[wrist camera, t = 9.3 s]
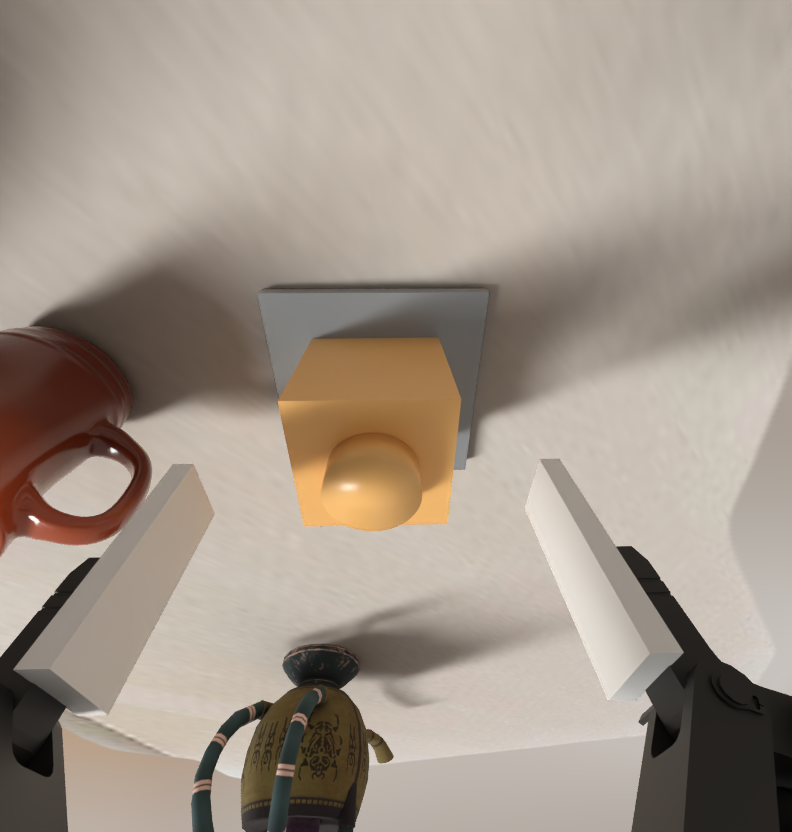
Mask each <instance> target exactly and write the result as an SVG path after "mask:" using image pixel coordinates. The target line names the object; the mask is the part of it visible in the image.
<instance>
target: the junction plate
mask: <svg viewBox="0 0 792 832" xmlns="http://www.w3.org/2000/svg"><path fill="white" fill-rule="evenodd" d="M257 296H258V301H259V306H260V311H261V316H262V321H263V325H264V330H265V335H266V340H267V345H268V350H269V355H270V359H271V364H272V369H273V374H274V379H275V384H276V389H277V393H278V398H280V396H281V394H282V392H283V391H284V389H285V387H286V385H287V383H288V381H289V380H290V378H291V376H292V374H293V372H294V371H295V369H296V367H297V365H298V363H299V361H300V360H301V358H302V356H303V354H304V352H305V351H306V349H307V347H308V345H309V343H310V341H311V340H312V339H335V338H439V340H440V343H441V345H442V348H443V351H444V354H445V356H446V359H447V362H448V364H449V367H450V370H451V372H452V375H453V378H454V381H455V383H456V386H457V389H458V391H459V394H460V397H461V407H460V416H459V425H458V434H457V442H456V451H455V460H454V469H453V470H463V469H465V466H466V459H467V452H468V445H469V437H470V430H471V423H472V416H473V408H474V401H475V394H476V387H477V379H478V372H479V365H480V358H481V350H482V343H483V336H484V328H485V321H486V314H487V307H488V299H489V291H487V290H486V289H485V288H420V289H263V290H261V291H260V292H258V293H257Z"/></svg>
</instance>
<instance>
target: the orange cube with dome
mask: <svg viewBox="0 0 792 832" xmlns="http://www.w3.org/2000/svg"><path fill="white" fill-rule="evenodd" d="M278 405H279V410H280V415H281V419H282V424H283V429H284V434H285V438H286V443H287V448H288V453H289V457H290V462H291V467H292V472H293V476H294V481H295V486H296V491H297V495H298V500H299V505H300V510H301V514H302V519H303V524H304V526H348V527H351V528H354V529H358V530H364V531H381V530H387V529H391V528H394V527H397V526H399V525H413V524H447V523H448V514H449V505H450V496H451V487H452V478H453V469H454V460H455V451H456V442H457V434H458V425H459V416H460V407H461V397H460V394H459V391H458V389H457V386H456V383H455V381H454V378H453V375H452V372H451V370H450V367H449V364H448V362H447V359H446V356H445V354H444V351H443V348H442V345H441V343H440V340H439V338H335V339H312V340H311V341H310V343H309V345H308V347H307V349H306V351H305V352H304V354H303V356H302V358H301V360H300V361H299V363H298V365H297V367H296V369H295V371H294V372H293V374H292V376H291V378H290V380H289V381H288V383H287V385H286V387H285V389H284V391H283V392H282V394H281V396H280V398H279V400H278Z"/></svg>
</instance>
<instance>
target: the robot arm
mask: <svg viewBox="0 0 792 832" xmlns="http://www.w3.org/2000/svg"><path fill="white" fill-rule="evenodd" d="M525 510H526V512H527V515H528V517H529V519H530V522H531V524H532V526H533V529H534V531H535V533H536V535H537V538H538V540H539V542H540V545H541V547H542V549H543V552H544V554H545V556H546V559H547V561H548V563H549V565H550V568H551V570H552V572H553V575H554V577H555V579H556V582H557V584H558V586H559V588H560V591H561V593H562V595H563V598H564V600H565V602H566V605H567V607H568V609H569V612H570V614H571V616H572V618H573V621H574V623H575V625H576V628H577V630H578V632H579V635H580V637H581V639H582V641H583V644H584V646H585V648H586V651H587V653H588V655H589V658H590V660H591V662H592V665H593V667H594V669H595V671H596V674H597V676H598V678H599V681H600V683H601V685H602V688H603V690H604V692H605V695H606V697H607V699H608V701H627V700H637V699H638V698H639V697H640V696H641V695H642V694H643V693H644V692H645V691H646V692H647V694H648V696H649V698H650V700H651V702H652V704H653V705H652V706H651V707H650V708H649V709H648V710H647V711H646V712H644V713H643V714H642V716H641V718H640V720H639V723H640V724H642V725H644V724H646V723H647V722H648V727H647V733H646V741H645V747H644V753H643V760H642V766H641V773H640V779H639V786H638V792H637V799H636V805H635V812H634V818H633V825H632V831H631V832H792V696H789V695H786V694H782V693H779V692H776V691H773V690H770V689H767V688H764V687H761V686H758V685H756V684H753V683H752V682H751V681H750V680H749V679H748V678H747V677H746V676H745V675H744V674H742V673H741V672H739V671H738V670H736V669H735V668H734V667H732V666H731V665H728V664H726V663H723V662H721V661H720V660H719V659H718V658H717V656H716V655H715V654H714V653H713V651H712V650H711V649H710V648H709V646H708V645H707V643H706V642H705V640H704V639H703V638H702V636H701V635H700V633H699V632H698V631H697V629H696V628H695V626H694V625H693V623H692V622H691V621H690V619H689V618H688V616H687V615H686V614H685V612H684V611H683V609H682V608H681V606H680V605H679V604H678V602H677V601H676V599H675V598H674V597H673V596H671V594H670V591H669V589H668V588H667V587H666V585H665V584H664V582H663V581H661V580H660V577H659V575H658V574H657V572H656V571H655V570H654V568H653V567H652V565H651V564H650V563H649V561H648V560H647V559H646V558H644V557H643V556H642V555H641V554H640V553H639V552H637V551H636V550H635V549H634V548H633V547H632V546H621V547H616V546H615V545H614V543H613V541H612V540H611V538H610V537H609V535H608V534H607V532H606V531H605V529H604V527H603V526H602V524H601V523H600V521H599V520H598V518H597V517H596V515H595V513H594V512H593V510H592V509H591V507H590V506H589V504H588V503H587V501H586V499H585V498H584V496H583V495H582V493H581V492H580V490H579V489H578V487H577V485H576V484H575V482H574V481H573V479H572V478H571V476H570V475H569V473H568V471H567V470H566V468H565V467H564V465H563V464H562V462H561V461H560V459H539V463H538V466H537V469H536V473H535V476H534V480H533V483H532V486H531V490H530V493H529V496H528V500H527V503H526V506H525ZM213 516H214V511H213V509H212V507H211V504H210V502H209V500H208V497H207V495H206V492H205V490H204V488H203V485H202V483H201V481H200V478H199V476H198V473H197V471H196V469H195V466H194V464H173V465H172V466H171V468H170V469H169V470H168V471H167V473H166V474H165V475H164V477H163V478H162V479H161V480H160V482H159V483H158V484H157V486H156V487H155V488H154V489H153V491H152V492H151V493H150V495H149V496H148V497H147V498H146V500H145V501H144V502H143V504H142V505H141V506H140V507H139V509H138V510H137V511H136V513H135V514H134V515H133V516H132V518H131V519H130V520H129V522H128V523H127V524H126V525H125V527H124V528H123V529H122V531H121V532H120V533H119V534H118V536H117V537H116V538H115V540H114V541H113V542H112V543H111V545H110V546H109V547H108V548H107V550H106V551H105V552H104V554H103V555H102V556H101V557H100V558H88V559H87V560H86V561H85V562H83V563H82V564H81V565H80V566H78V567H77V568H76V569H75V570H73V571H72V572H71V573H70V574H69V575H68V576H67V577H66V578H65V580H64V581H63V582H62V583H61V585H60V586H59V587H58V588H57V589H56V591H55V594H54V595H51V597H50V598H49V599H48V600H47V601H46V603H45V604H44V605H43V606H42V610H41V611H38V612H37V614H36V615H35V616H34V617H33V618H32V620H31V621H30V622H29V623H28V624H27V626H26V627H25V628H24V629H23V630H22V632H21V633H20V634H19V635H18V636H17V638H16V639H15V640H14V641H13V643H12V644H11V645H10V646H9V647H8V649H7V650H6V651H5V652H4V653H3V655H2V656H1V657H0V832H68V826H67V807H66V793H65V791H66V790H65V773H64V757H63V739H62V728H61V725H60V723H59V721H58V720H59V718H60V716H61V715H62V713H63V712H64V710H65V708H67V709H69V710H70V711H71V712H73V713H74V714H76V715H77V716H96V715H108V714H109V712H110V710H111V708H112V706H113V705H114V703H115V701H116V699H117V697H118V695H119V693H120V691H121V689H122V688H123V686H124V684H125V682H126V680H127V678H128V676H129V674H130V673H131V671H132V669H133V667H134V665H135V663H136V661H137V659H138V657H139V656H140V654H141V652H142V650H143V648H144V646H145V644H146V642H147V641H148V639H149V637H150V635H151V633H152V631H153V629H154V627H155V625H156V624H157V622H158V620H159V618H160V616H161V614H162V612H163V610H164V608H165V607H166V605H167V603H168V601H169V599H170V597H171V595H172V593H173V592H174V590H175V588H176V586H177V584H178V582H179V580H180V578H181V576H182V575H183V573H184V571H185V569H186V567H187V565H188V563H189V561H190V560H191V558H192V556H193V554H194V552H195V550H196V548H197V546H198V544H199V543H200V541H201V539H202V537H203V535H204V533H205V531H206V529H207V528H208V526H209V524H210V522H211V520H212V518H213Z"/></svg>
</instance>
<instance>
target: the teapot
mask: <svg viewBox="0 0 792 832" xmlns="http://www.w3.org/2000/svg"><path fill="white" fill-rule="evenodd" d="M282 667H283V669H284V671H285V673H286V674H287V676H288V677H289V678H290V680H291V681H292V682H293V684H295V685H296V686H297V687H296V688H294V689H291V690H290V691H288V692H287V693H286V694H285V695H284V696H282V697H281V698H280V699H279V700H278V701H276V702H275V703H274V704H273V703H270V702H266V701H263V700H262V701H260V702H258V703H256V704H253V705H251V706H248V707H246V708H244V709H241V710H239V711H236V712H235V713H234V714H233V715H232V716H231V717H230V718H229V719H228V720H227V721H226V722H225V723H224V724H223V725H222V726H221V727H220V729H219V730H218V732H217V734H216V735H215V737H214V738H213V740H212V741H211V743H210V744H209V746H208V748H207V749H206V751H205V753H204V756H203V758H202V760H201V763H200V765H199V768H198V770H197V773H196V775H195V781H194V788H193V796H192V803H191V806H192V825H193V832H214V828H213V822H212V812H211V800H210V794H211V783H212V774H213V771H214V769H215V766H216V763H217V761H218V758H219V755H220V753H221V752H222V750H223V748H224V747H225V745H226V743H227V742H228V740H229V738H230V737H231V736H232V735H233V734H234V733H235V732H236V731H237V730H238V729H239V728H240V727H242V726H244V725H246V724H248V723H250V722H252V721H254V720H256V719H259V720H261V721H260V722H259V724H258V725H257V727H256V730H255V732H254V735H253V738H252V740H251V743H250V746H249V748H248V751H247V755H246V759H245V764H244V768H243V773H242V778H241V816H242V829H244V830H245V831H246V832H353V828H354V827H355V822H356V819H357V816H358V813H359V810H360V806H361V803H362V800H363V796H364V793H365V789H366V785H367V780H368V769H369V752H368V743H369V744H370V745H371V746H372V747H373V749H374V750H375V754H376V757H377V760H378V762H379V763H386V762H389V761H390V760H392V759H393V754H392V752H391V751H390V749H389V747H388V746H387V744H386V742H385V741H384V740H383V738H382V737H380V736H379V735H378V734H376V733H375V732H373V731H372V730H369V729H367V730H366V728H365V725H364V722H363V719H362V716H361V714H360V711H359V709H358V708H357V706H356V705H355V704H354V703H353V701H352V700H351V699H350V697H349V696H348V695H347V694H346V693H345V692H344V691H342V690H340V688H342V687H344V686H345V685H346V684H347V683H348V682H349V681H351V680H352V679H353V678H354V677H355V676H356V675H357V674H358V672H359V670H360V661H359V658H358V657H357V656H356V655H355V654H354V653H352V652H350V651H349V650H347V649H344V648H341V647H337V646H332V645H324V644H320V645H307V646H302V647H298V648H296V649H294V650H291V651H290V652H289V653H288V654H287V655H285V657H284V661H283V665H282Z"/></svg>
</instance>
